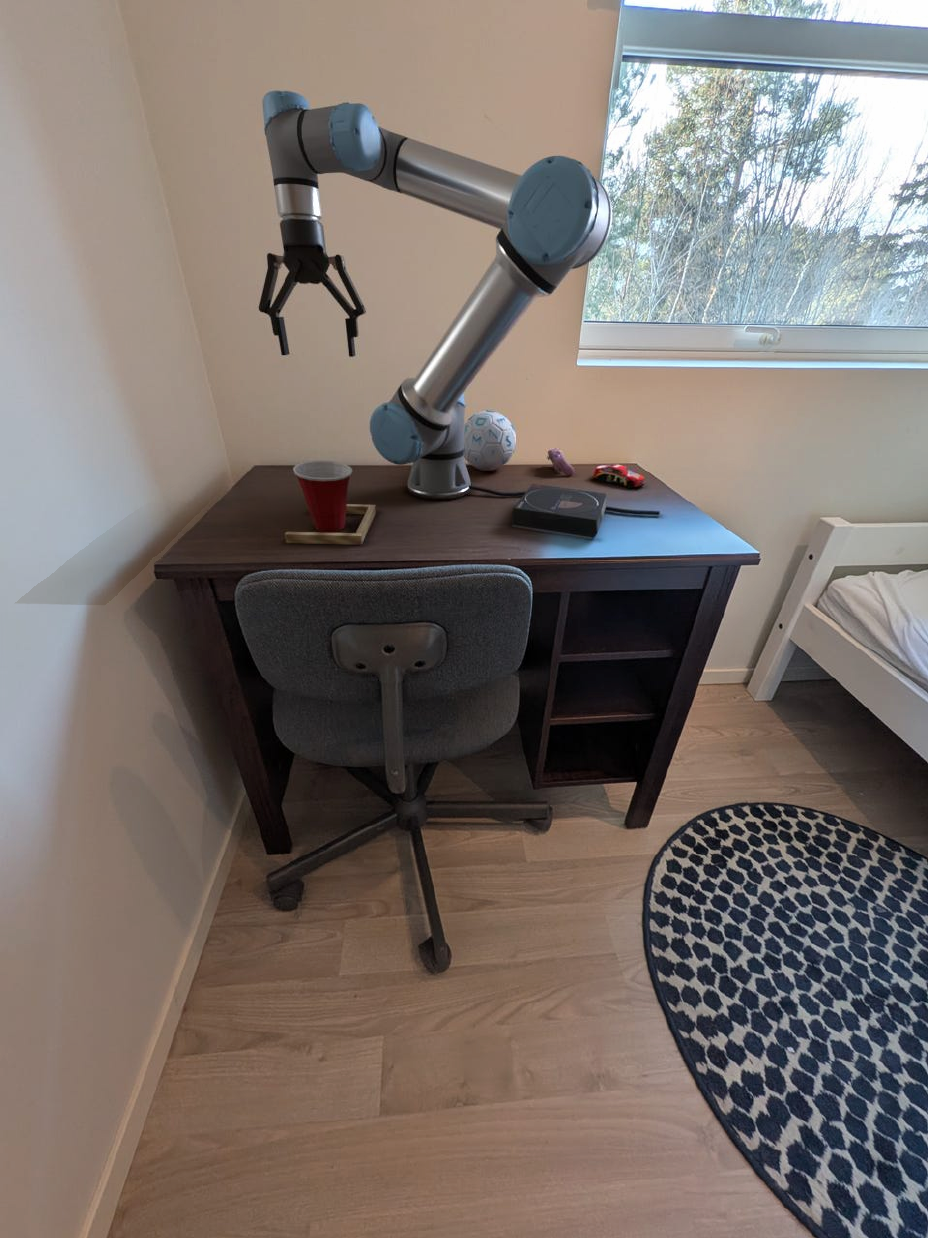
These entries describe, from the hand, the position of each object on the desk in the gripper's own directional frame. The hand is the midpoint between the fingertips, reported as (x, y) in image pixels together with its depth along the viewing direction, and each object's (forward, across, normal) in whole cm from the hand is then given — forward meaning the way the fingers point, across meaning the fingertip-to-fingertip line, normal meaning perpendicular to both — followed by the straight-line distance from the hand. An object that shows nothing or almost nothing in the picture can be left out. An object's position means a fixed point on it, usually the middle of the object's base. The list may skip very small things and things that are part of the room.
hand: (319, 355), depth 97 cm
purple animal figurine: (+29, -56, -22) cm, 67 cm away
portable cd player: (+29, -51, +13) cm, 60 cm away
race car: (+29, -70, -13) cm, 77 cm away
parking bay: (+29, -4, +20) cm, 35 cm away
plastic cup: (+29, -4, +20) cm, 35 cm away
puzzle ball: (+29, -36, -22) cm, 51 cm away
